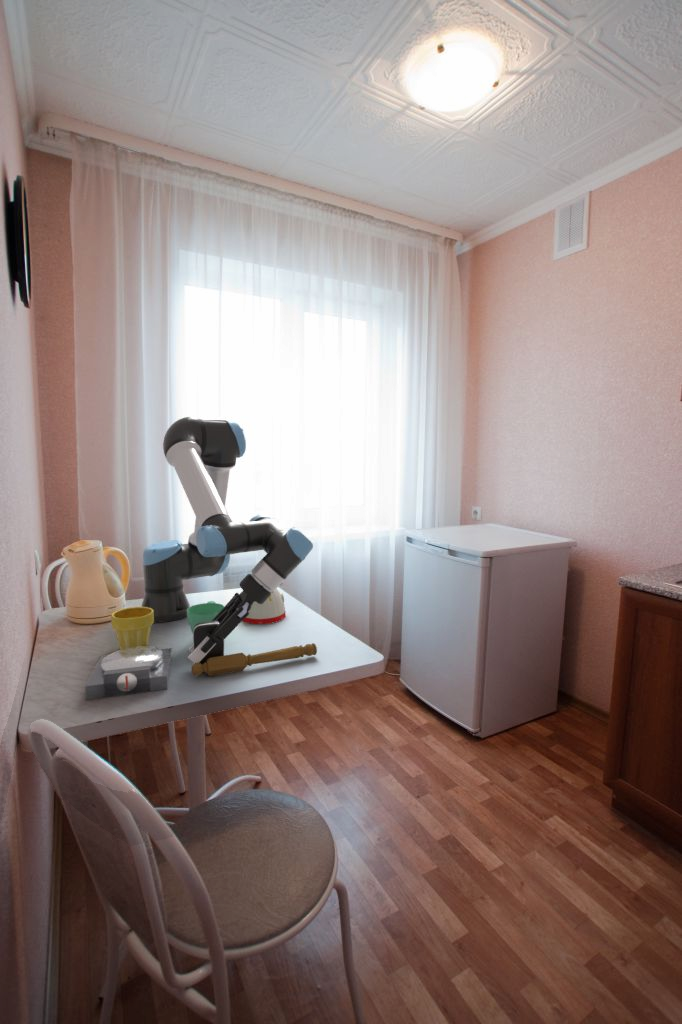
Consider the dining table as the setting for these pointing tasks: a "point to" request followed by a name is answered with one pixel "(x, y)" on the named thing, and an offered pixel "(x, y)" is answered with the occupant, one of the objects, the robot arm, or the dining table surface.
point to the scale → (130, 672)
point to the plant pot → (132, 626)
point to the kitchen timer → (267, 610)
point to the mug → (203, 613)
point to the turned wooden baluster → (249, 660)
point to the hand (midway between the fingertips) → (192, 656)
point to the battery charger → (200, 635)
